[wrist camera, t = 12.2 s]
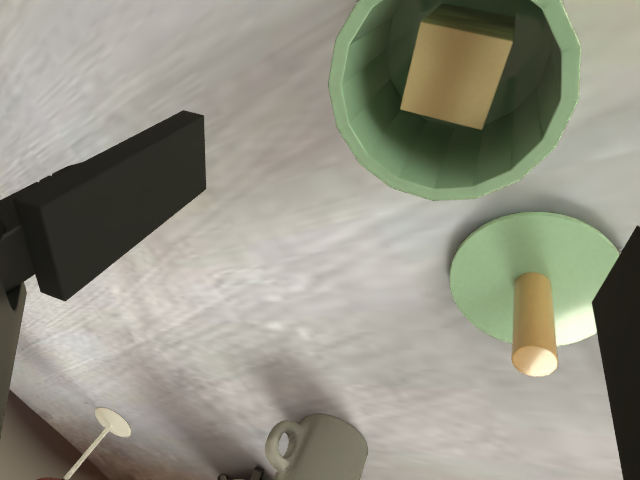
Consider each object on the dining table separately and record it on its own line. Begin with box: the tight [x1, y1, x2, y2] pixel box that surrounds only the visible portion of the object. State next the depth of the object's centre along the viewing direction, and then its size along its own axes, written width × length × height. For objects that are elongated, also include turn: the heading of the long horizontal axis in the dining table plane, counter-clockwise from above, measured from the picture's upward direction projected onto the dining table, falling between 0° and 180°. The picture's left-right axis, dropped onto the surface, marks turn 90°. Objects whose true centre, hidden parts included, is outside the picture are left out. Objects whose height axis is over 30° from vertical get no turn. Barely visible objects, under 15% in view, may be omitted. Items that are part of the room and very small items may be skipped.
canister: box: [328, 0, 581, 201], centre depth 29 cm, size 13×13×12 cm
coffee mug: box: [265, 414, 368, 480], centre depth 59 cm, size 13×10×10 cm
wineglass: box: [38, 408, 131, 480], centre depth 76 cm, size 8×9×20 cm
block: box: [400, 4, 515, 130], centre depth 30 cm, size 5×5×8 cm
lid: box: [450, 212, 620, 377], centre depth 37 cm, size 14×14×10 cm
